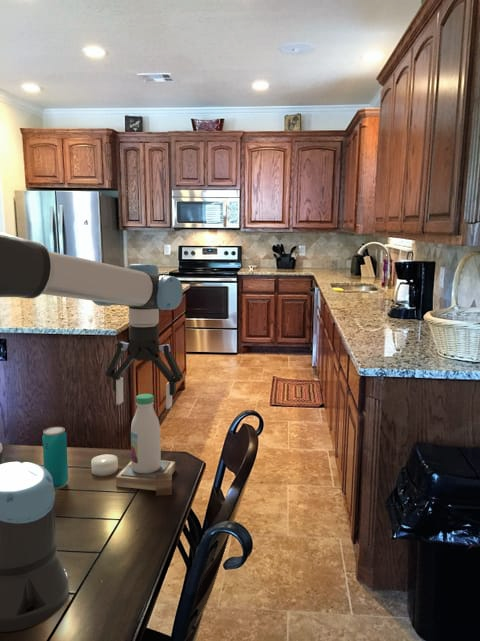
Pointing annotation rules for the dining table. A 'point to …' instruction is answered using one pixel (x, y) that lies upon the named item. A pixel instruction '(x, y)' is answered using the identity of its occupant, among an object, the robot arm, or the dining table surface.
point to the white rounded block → (104, 465)
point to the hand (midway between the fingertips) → (144, 405)
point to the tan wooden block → (163, 484)
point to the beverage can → (56, 455)
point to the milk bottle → (145, 437)
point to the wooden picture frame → (142, 476)
